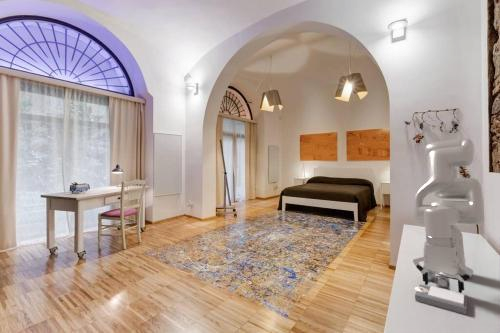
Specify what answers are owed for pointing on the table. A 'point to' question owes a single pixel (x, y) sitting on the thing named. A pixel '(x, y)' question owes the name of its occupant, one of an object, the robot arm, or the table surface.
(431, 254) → the robot arm
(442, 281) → the cylinder
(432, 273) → the cylinder
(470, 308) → the table surface
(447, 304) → the scale
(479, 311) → the table surface
